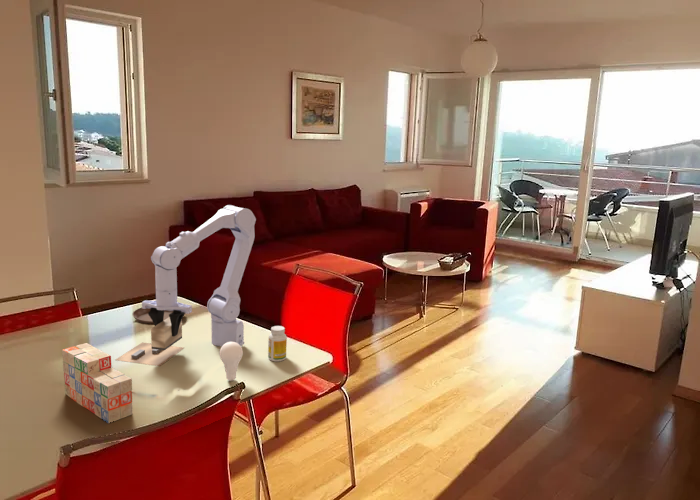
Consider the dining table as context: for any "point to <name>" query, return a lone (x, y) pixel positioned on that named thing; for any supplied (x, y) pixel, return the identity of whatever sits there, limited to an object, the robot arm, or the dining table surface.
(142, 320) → the plant saucer
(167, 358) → the oak board
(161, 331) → the block
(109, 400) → the stack of blocks
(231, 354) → the lightbulb
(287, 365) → the dining table surface
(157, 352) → the small gray block
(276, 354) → the supplement bottle
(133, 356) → the grey rectangular block
